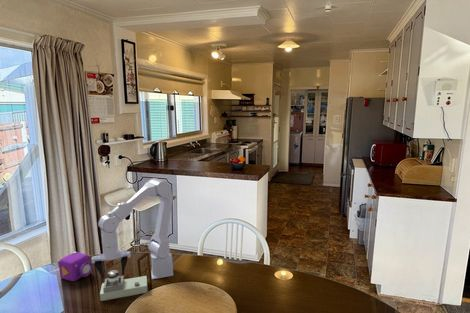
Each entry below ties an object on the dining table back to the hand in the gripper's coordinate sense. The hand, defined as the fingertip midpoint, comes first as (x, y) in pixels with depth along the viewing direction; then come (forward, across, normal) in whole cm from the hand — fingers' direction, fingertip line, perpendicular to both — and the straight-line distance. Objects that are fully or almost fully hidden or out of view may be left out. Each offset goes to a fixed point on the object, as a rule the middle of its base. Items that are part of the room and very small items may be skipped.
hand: (113, 275), depth 125 cm
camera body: (+8, -4, 0) cm, 9 cm away
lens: (+5, 0, 0) cm, 5 cm away
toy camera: (+8, +17, -19) cm, 27 cm away
